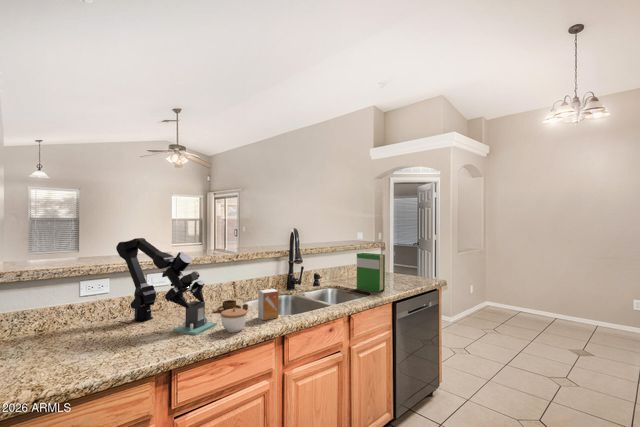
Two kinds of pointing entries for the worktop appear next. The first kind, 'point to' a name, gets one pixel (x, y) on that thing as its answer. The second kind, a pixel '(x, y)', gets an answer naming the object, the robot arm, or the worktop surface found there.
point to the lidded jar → (233, 319)
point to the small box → (268, 304)
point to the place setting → (230, 306)
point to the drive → (195, 314)
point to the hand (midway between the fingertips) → (196, 305)
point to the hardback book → (371, 272)
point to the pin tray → (193, 330)
